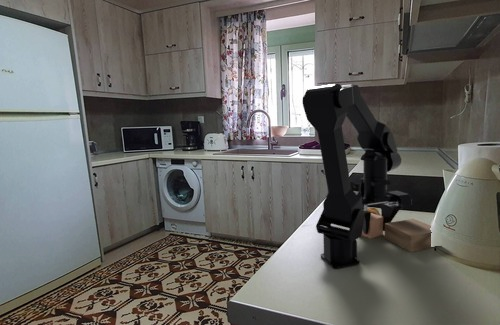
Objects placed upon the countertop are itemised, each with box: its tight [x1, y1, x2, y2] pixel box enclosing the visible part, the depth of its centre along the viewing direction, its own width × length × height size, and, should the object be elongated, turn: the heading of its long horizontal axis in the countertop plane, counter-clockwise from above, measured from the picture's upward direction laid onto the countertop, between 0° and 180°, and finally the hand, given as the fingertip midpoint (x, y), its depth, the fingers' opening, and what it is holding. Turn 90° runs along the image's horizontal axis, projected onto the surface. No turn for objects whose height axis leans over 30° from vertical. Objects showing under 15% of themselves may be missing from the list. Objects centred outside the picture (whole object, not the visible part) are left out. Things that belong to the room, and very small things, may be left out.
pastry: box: [367, 206, 381, 216], centre depth 91 cm, size 9×7×4 cm
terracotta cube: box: [362, 213, 384, 239], centre depth 81 cm, size 5×5×5 cm
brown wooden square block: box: [384, 218, 432, 253], centre depth 74 cm, size 9×9×4 cm
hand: (374, 232), depth 79 cm, fingers closed on terracotta cube, 5 cm apart
